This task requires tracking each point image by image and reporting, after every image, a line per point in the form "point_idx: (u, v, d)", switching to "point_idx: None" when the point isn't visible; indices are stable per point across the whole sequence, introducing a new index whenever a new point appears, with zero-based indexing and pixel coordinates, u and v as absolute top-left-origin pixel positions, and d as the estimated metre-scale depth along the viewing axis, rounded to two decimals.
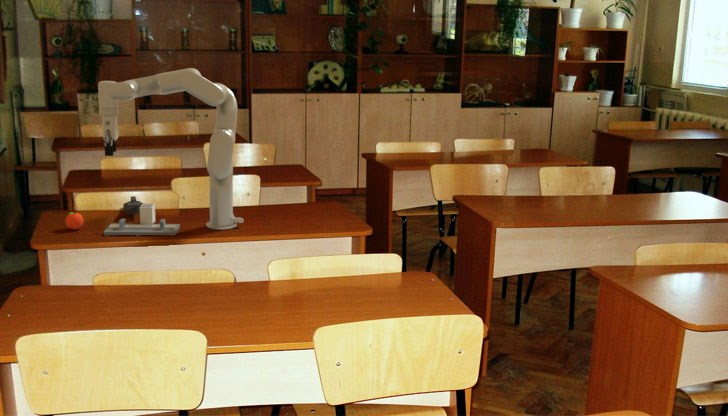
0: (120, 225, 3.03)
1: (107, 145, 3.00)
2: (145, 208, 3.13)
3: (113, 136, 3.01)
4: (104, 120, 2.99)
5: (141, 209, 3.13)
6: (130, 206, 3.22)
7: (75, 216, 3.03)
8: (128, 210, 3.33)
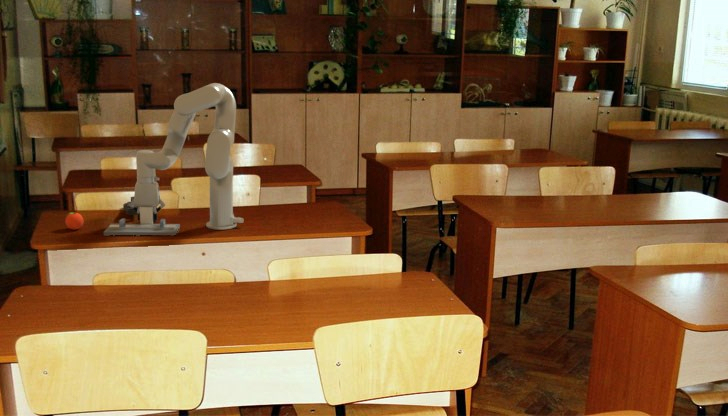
0: (120, 225, 3.03)
1: None
2: (145, 208, 3.13)
3: None
4: (157, 187, 3.14)
5: (141, 209, 3.13)
6: None
7: (75, 216, 3.03)
8: (128, 210, 3.32)
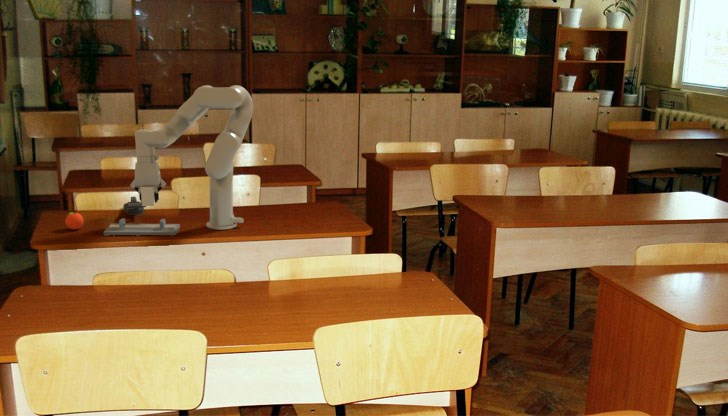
0: (120, 225, 3.03)
1: None
2: (146, 188, 3.11)
3: None
4: (157, 166, 3.12)
5: (142, 189, 3.11)
6: (131, 207, 3.21)
7: (75, 216, 3.03)
8: (128, 211, 3.32)
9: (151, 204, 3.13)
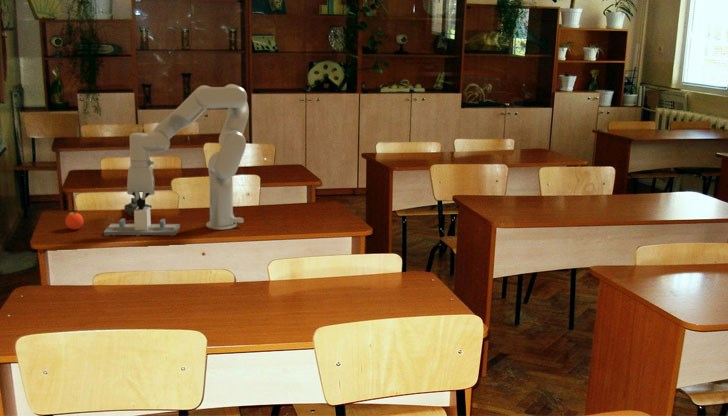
0: (120, 225, 3.03)
1: None
2: (140, 211, 3.01)
3: None
4: (151, 172, 3.00)
5: (135, 212, 3.01)
6: (136, 207, 3.20)
7: (75, 216, 3.03)
8: (132, 212, 3.31)
9: (144, 229, 3.03)
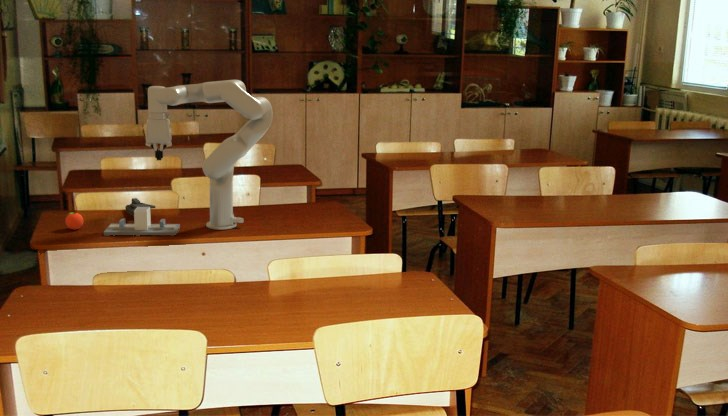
0: (120, 225, 3.03)
1: None
2: (140, 211, 3.01)
3: (171, 137, 3.16)
4: (168, 124, 3.11)
5: (135, 212, 3.01)
6: None
7: (75, 216, 3.03)
8: None
9: (144, 229, 3.03)
